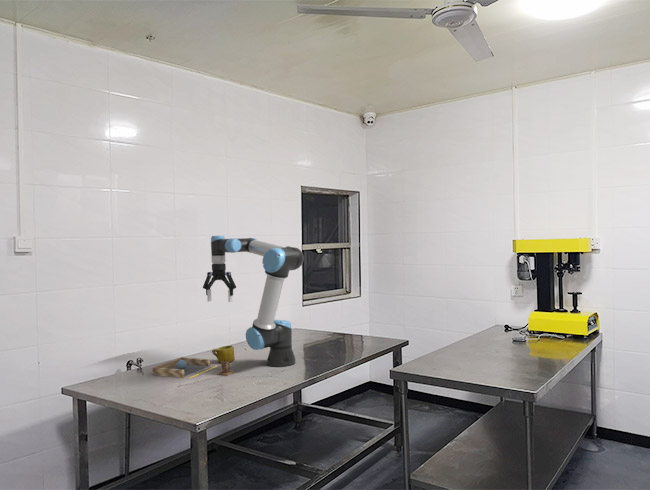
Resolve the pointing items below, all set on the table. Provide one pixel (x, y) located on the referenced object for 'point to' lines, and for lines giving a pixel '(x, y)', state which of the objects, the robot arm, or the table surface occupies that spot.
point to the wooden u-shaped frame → (165, 368)
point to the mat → (190, 368)
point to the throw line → (203, 372)
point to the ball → (181, 364)
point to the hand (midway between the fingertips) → (219, 301)
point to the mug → (224, 353)
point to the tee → (225, 368)
